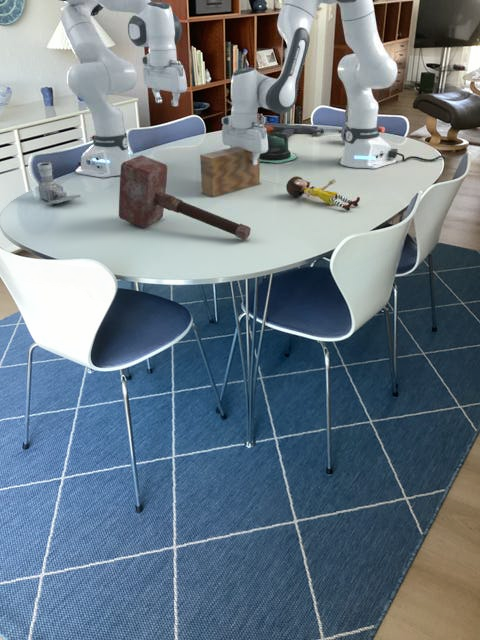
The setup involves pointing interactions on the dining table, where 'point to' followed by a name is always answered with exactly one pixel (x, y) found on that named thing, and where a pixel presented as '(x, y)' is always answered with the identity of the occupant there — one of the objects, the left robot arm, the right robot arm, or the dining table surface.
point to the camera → (51, 186)
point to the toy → (343, 132)
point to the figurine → (317, 192)
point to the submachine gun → (292, 129)
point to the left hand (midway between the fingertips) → (166, 104)
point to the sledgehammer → (160, 198)
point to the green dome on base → (277, 148)
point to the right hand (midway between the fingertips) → (245, 162)
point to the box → (228, 171)
